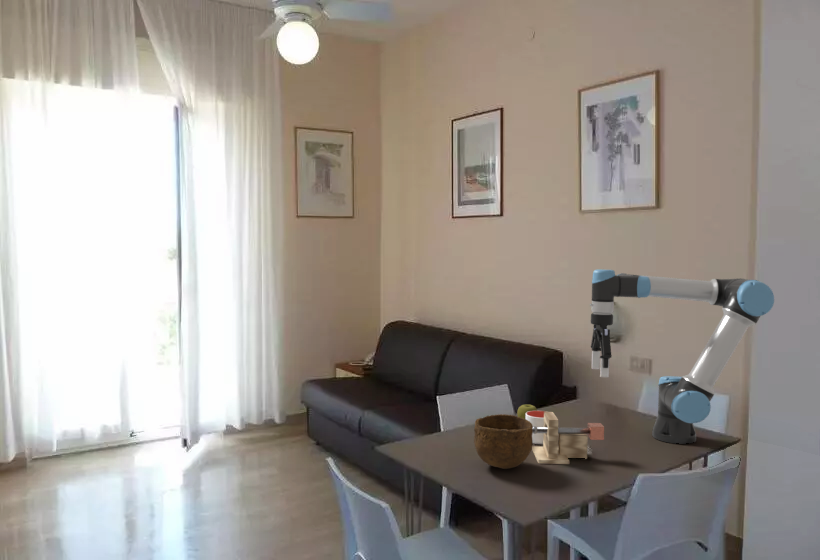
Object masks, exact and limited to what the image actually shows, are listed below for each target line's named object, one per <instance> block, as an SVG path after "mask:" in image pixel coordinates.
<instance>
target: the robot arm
mask: <svg viewBox="0 0 820 560" xmlns="http://www.w3.org/2000/svg"><path fill="white" fill-rule="evenodd" d="M616 297H617V298H638V299H641V298H648V297H652V298H662V299H663V298H664V299H672V300H673V299H674V300H681V301H682V300H685V301H694V302H705V303H708V304H709V305H710V306H718V307H722V308H721V310H722V312H723V315H722V317H721V319H720V321H719V322H718V324H717V325H716V327H715V329H714V331H713V332H712V334H711V336H710V337H709V339H708V341H707V343H706V344H705V346H704V348H703V350H702V351H701V353H700V355H699V356H698V358H697V359H696V362H695V363H694V365H693V366H692V368H691V370H690V372H689V373H688V374H686V375H682V376H676V375H675V376H673V375H664V376H661V377H659V381H658V386H657V387H658V399H657V400H658V402H657V403H658V404H657V417H656V418H655V423H654V425H653V427H652V434H651V435H652V437H653V438H654V439H655V440H657V441H658V440H659V441H661V442H665V443H669V444H670V443H671V444H676V443H679V444H680V445H686V443H689V444H693V442H694V443H696V442H697V433H696V429H695V426H694V424H697V423H700V422H703V421H704V420H706V418H708V417H709V415H710V412H711V401H712V399H713V397H714V396H715V391H714V387H715V385H716V382H717V381H718V380H719V378H720V376H721V374H722V373H723V370H724V369H725V368H726V365H727V364H728V362H729V361H730V358H731V357H732V355H733V354H734V353H735V351H736V349H737V347H738V346H739V344H740V342H741V341H742V338H744V335H745V334H746V332H747V330H748V328H749V327H752V326H755V325H757V323H758V321H759V320H760V318H761V316H765V315H766V314H768V313H769V312H770V311H771V310H772V308H773V307H774V304H775V295H774V292H773V289H771V288H770V286H769V285H768V284H766V283H765V282H763V281H760V280H756V279H747V278H723V279H721V278H712V279H710V280H702V279H701V280H700V279H690V278H676V277H664V276H653V275H639V274H638V275H637V274H629V273H628V274H627V273H624V272H623V273H622V272H621V273H619V274H616V271H615V270H613V269H604V268H603V269H594V270H593V272H592V281H591V303H589V307H591V308H590V309H591V310H590V311H591V312H592V313H591V314H590V324H591V325H593V329H592V338H591V342H590V343H591V344H590V348H591V369H592V370H600V371H599V372H600V374H599V377H600V378H609V377H610V359H611V358H612V348H611V347H612V345H611V334H610V332H611V329H609V328H608V326H612V325H613V323H614V315H613V313H614V306H615V305H614V304H615V299H614V298H616ZM679 444H678V445H679Z"/></svg>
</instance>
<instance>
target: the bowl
mask: <svg viewBox="0 0 820 560" xmlns="http://www.w3.org/2000/svg"><path fill="white" fill-rule="evenodd" d="M473 428H474V430H473V431H474V437H473V443H474V448H475V451H476V453H477V455H478V456H479V458H480V459H481V461H483V462H484V463H485V464H486V465H488V466H491V467H494V468H499V469H502V470H503V469H504V470H507V469H508V470H509V469H512V468H516V467H518V466H520V465H521V464H522V463H524V461H526V460H527V458H528V456H529V455H530V454H531V452H532V446H533V441H532V434H533V430H532V428H533V426H532V423H531V422H530V421H528V420H526V419H524V418H521V417H518V415H512V414H507V413H506V414H504V413H503V414H499V413H498V414H491V415H487V416H483V417H479V418H476V420H475V421H474V427H473Z"/></svg>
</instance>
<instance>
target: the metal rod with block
mask: <svg viewBox="0 0 820 560" xmlns="http://www.w3.org/2000/svg"><path fill="white" fill-rule="evenodd" d="M532 430H533V433H534V434H536V433H547V427H533V428H532ZM559 434H586V435H587V436H588V438H589V440H592V441H595V440H596V441H604V440H605V426H604V425H603V424H602V423H601V422H587V427H558V435H559Z"/></svg>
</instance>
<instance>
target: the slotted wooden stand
mask: <svg viewBox="0 0 820 560" xmlns="http://www.w3.org/2000/svg"><path fill="white" fill-rule="evenodd" d="M544 427H547V433H544V436H543V444H542V445H541V446H540V445H539V446H537V445H536V446H535V445H534V446H533V445H532V450H531V452H533V455H534V456H535V459H536V461H537V463H538V464H540V465H541V464H549V465H553V464H554V465H570V459H568V458H585V459H584V460H588V442H589V441H588V438H589V437H588V436H587V434H558V428H559V419H558V417H557V416H556V415H555V413H554V412H553V411H546V412H544Z"/></svg>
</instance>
